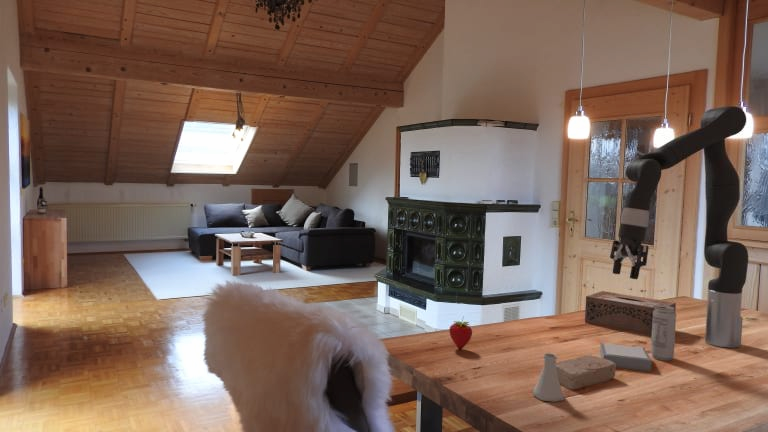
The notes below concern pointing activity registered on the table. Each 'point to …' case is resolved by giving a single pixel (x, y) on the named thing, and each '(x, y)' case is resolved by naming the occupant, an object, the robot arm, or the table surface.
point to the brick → (584, 371)
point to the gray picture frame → (626, 356)
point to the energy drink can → (663, 333)
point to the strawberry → (460, 333)
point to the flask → (549, 381)
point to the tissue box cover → (622, 311)
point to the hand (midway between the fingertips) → (624, 276)
